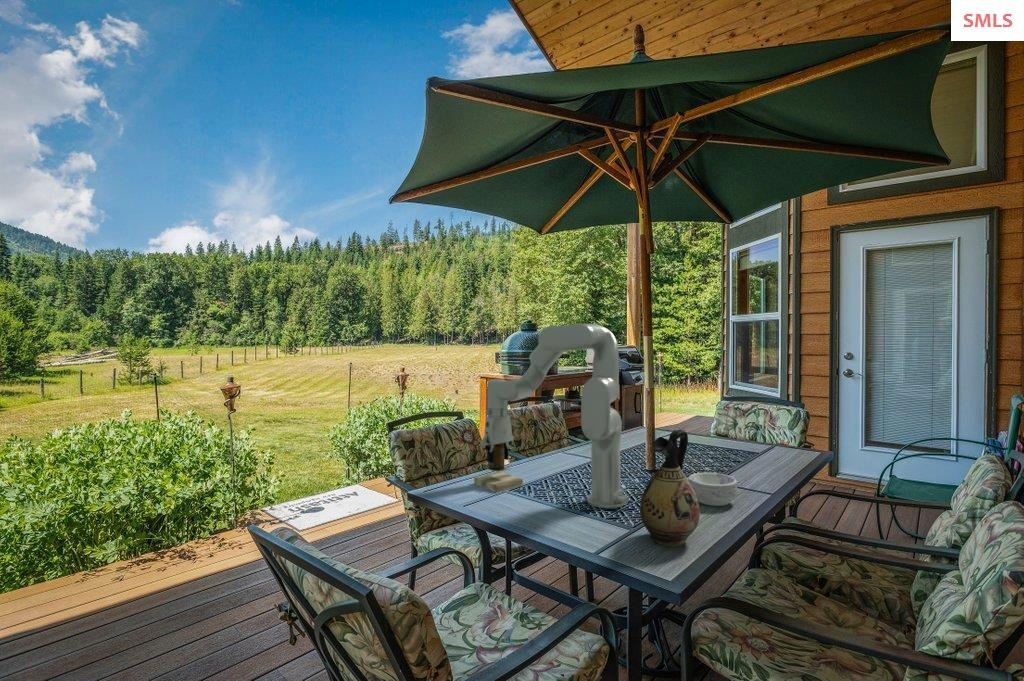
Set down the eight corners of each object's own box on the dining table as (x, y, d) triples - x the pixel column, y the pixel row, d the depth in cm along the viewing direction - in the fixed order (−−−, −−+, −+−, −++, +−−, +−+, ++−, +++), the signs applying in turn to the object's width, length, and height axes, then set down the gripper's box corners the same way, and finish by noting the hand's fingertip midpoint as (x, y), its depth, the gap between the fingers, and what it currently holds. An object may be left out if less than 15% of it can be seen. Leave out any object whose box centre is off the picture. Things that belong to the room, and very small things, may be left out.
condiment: (498, 464, 192) (497, 433, 192) (512, 469, 185) (512, 436, 185) (483, 467, 187) (482, 436, 187) (496, 472, 181) (496, 439, 180)
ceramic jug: (676, 558, 125) (675, 438, 124) (628, 537, 137) (627, 429, 137) (715, 541, 134) (714, 430, 134) (667, 523, 147) (666, 422, 147)
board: (522, 485, 185) (522, 479, 185) (497, 492, 177) (497, 485, 177) (499, 477, 196) (499, 471, 195) (474, 483, 188) (474, 477, 188)
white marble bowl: (678, 497, 170) (678, 474, 170) (713, 492, 175) (713, 469, 175) (711, 512, 156) (710, 487, 156) (748, 506, 161) (748, 481, 161)
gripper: (485, 416, 178) (485, 466, 178) (521, 411, 189) (521, 458, 189) (472, 413, 183) (473, 462, 184) (509, 409, 194) (509, 454, 195)
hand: (497, 460), depth 186 cm, fingers closed on condiment, 6 cm apart
